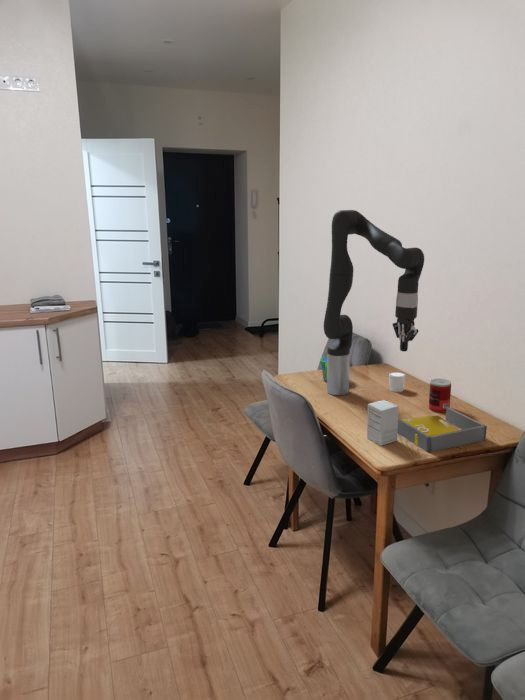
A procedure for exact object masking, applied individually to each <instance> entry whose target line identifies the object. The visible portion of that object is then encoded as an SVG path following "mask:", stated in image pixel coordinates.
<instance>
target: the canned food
mask: <svg viewBox="0 0 525 700" xmlns="http://www.w3.org/2000/svg"><path fill="white" fill-rule="evenodd" d="M451 391H452V381H450V380H449V379H445V378H433V379H431V380H430V381H429V393H428V395H429V396H428V397H429V398H428V407H429V410H430V411H432V412H436V413H446V409H447V408H448V407H449V408H451V394H452V392H451Z"/></svg>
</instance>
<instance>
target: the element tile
mask: <svg viewBox="0 0 525 700" xmlns="http://www.w3.org/2000/svg"><path fill="white" fill-rule="evenodd" d="M401 419H402V420H403V421H405V422H407V423H408V424H410V425H412V426H413V427H415V428H417V429H418V430H420V431H422V432H423V433H425V434H427V435H428V436H434V435H439V434H444V433H449V432H453V431H458V430H459V429H457V428H456V426H454V425H453V424H451V423H449V422H447V421H446V419H444V418H443V417H442V416H440V415H430V416H429V415H428V416H421V417H419V416H418V417H409V418H401ZM414 445H415V446H417V445H418V435H417V434H415V444H414Z"/></svg>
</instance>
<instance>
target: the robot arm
mask: <svg viewBox="0 0 525 700" xmlns="http://www.w3.org/2000/svg"><path fill="white" fill-rule="evenodd" d="M349 235H357V236H360V237H363V238H365V239H366V240H367V241H368V242H369V244H370V246H371V247H372V248H373V249H374V250H376V251H377V252H378V253H380V254H382V255H384V256H385V257H387V258H388V259H389V260H390V261H391V262H392V263H393V264H394V265H395V266H396V267H398V268H400V269H403V270H404V273H403V274H402V275H400V276H399V277H398V281H397V294H396V299H395V310H394V311H395V315H394V316H395V317H396V322H393V323H392V328H393V332H394V333H395V336H396V338H397V339H398V340H399V351H401V352H404V353H405V352H408V348H409V342H412V341H413V340H414V339H415V338H416V336H417V335H418V333H419V329H418V328H416V327H415V324H416V323H415V320H416V318H417V316H418V304H419V294H418V293H419V280H420V278H421V275H422V271H423V268H424V264H425V255H424V254H425V253H424V252H423V251H422V249H420V247H408V248H407V247H403V243H402V242H401V240H400V239H398V238H396V237H395V236H392V235H391V234H389V233H387V232H386V231H383V230H382V229H381V228H379V227H377V226H376V225H375V224H374V223H373V222H371V221H370V220H369V219H368V218H366V217H365V216H364V215H363V214H362V213H360V212H359V211H358V210H354V209H346V210H344V209H343V210H342V209H341V210H338V211H336V212H335V213H334V214H333V216H332V220H331V259H330V260H331V261H330V270H329V278H328V279H329V280H328V294H327V303H326V309H325V314H324V318H323V319H324V320H323V332H324V335H325V336H326V338H327V339H330V340H333V341H332V342H331V343H330V344H329V345H328V346H327V348H326V349H327V353H326V354H327V382H326V392H327V393H328V394H329V395H332V396H345V395H349V392H350V356H351V355H350V353H351V352H350V351H351V348H352V344H353V332H354V331H353V330H354V329H353V328H354V327H353V326H354V325H353V322H352V319H351V317H350V316H349V315H348V314H341V313H342V312H341V311H342V307H343V306H344V303H345V300H347V299H346V298H347V297H348V295H349V293H350V291H351V290H352V286H353V280H354V265H353V262H352V259H351V257H350V255H349V251H348V237H349Z"/></svg>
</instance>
